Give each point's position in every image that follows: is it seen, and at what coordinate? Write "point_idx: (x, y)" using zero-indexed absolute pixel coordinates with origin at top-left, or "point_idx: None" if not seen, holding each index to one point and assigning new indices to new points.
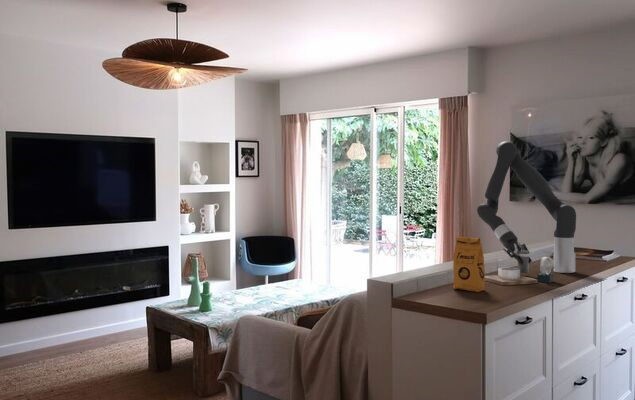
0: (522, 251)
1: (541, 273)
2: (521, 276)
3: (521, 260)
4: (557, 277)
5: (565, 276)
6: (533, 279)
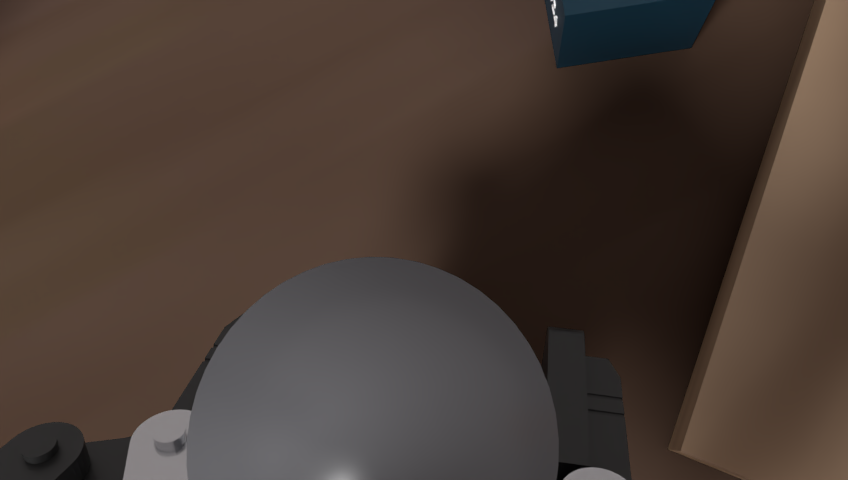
0: (459, 410)
1: (585, 3)
2: (795, 239)
3: (583, 371)
4: (196, 52)
5: (52, 33)
6: None
